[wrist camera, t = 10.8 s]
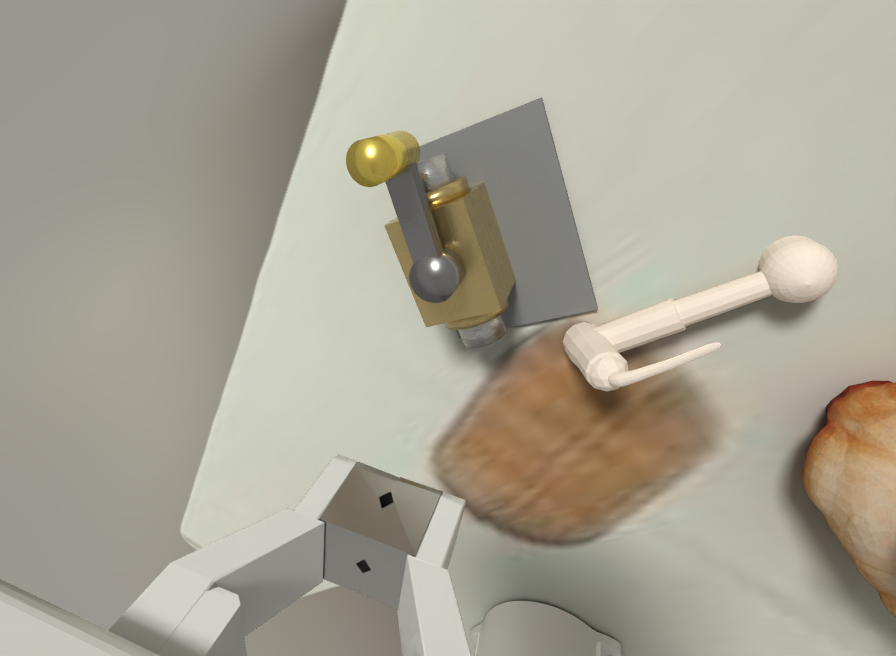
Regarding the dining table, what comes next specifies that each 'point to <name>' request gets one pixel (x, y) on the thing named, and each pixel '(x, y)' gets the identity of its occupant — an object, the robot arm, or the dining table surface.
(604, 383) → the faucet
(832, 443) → the ceramic vessel
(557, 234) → the valve base plate
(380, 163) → the valve lever
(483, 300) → the valve body
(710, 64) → the dining table surface
